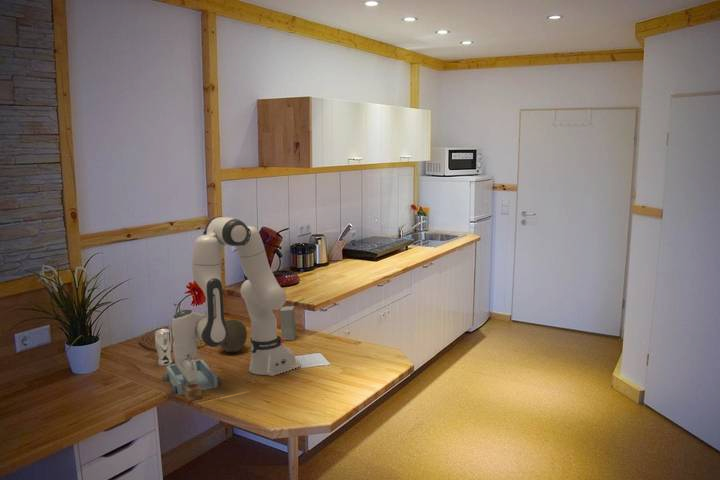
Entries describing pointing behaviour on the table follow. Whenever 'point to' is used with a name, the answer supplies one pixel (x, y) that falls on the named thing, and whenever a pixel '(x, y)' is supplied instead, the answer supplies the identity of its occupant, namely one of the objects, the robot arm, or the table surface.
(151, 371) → the table surface
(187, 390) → the brown small block
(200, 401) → the tailgate
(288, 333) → the skincare box
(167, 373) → the flatbed
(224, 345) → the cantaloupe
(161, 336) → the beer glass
